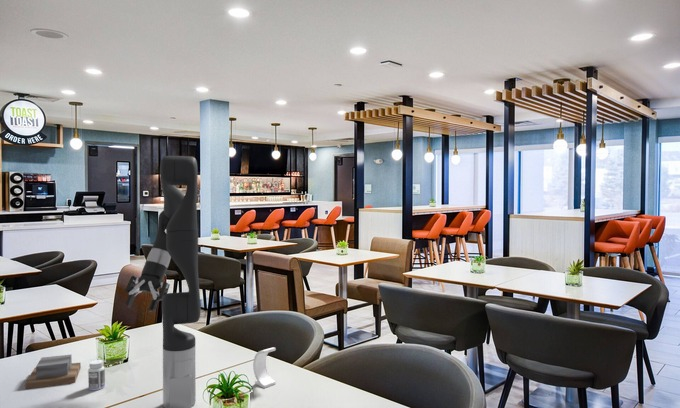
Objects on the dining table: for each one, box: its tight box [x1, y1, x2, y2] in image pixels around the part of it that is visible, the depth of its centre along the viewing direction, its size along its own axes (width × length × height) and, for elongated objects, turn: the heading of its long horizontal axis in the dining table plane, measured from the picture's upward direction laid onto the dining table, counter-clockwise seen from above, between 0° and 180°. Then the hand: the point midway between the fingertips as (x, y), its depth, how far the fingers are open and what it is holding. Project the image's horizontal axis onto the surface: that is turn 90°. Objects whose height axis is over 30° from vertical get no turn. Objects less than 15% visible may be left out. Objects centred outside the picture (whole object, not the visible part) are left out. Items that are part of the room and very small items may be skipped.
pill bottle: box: [87, 359, 106, 391], centre depth 155 cm, size 5×5×8 cm
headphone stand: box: [252, 347, 277, 389], centre depth 159 cm, size 5×6×12 cm
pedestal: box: [24, 354, 81, 390], centre depth 163 cm, size 14×14×6 cm
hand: (139, 309), depth 162 cm, fingers open, 8 cm apart
